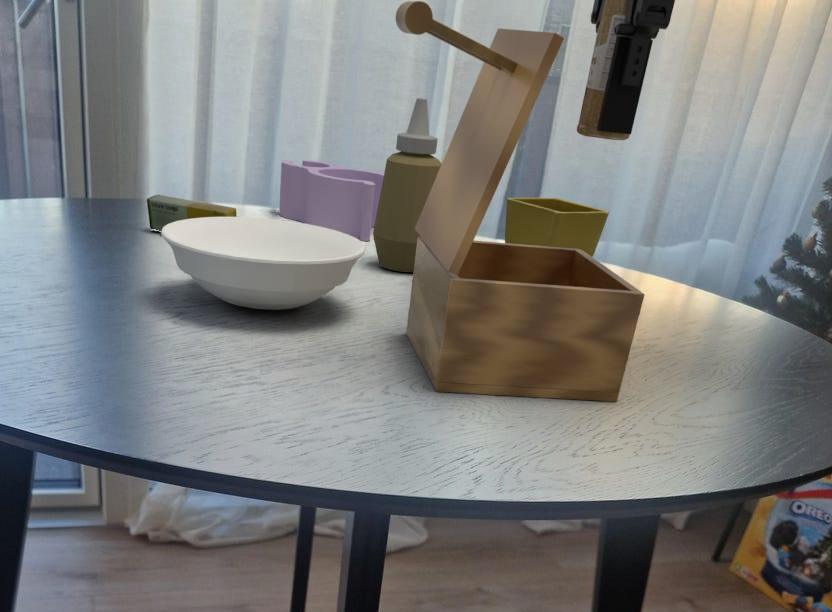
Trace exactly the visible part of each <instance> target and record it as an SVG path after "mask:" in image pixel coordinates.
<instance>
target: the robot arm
mask: <svg viewBox="0 0 832 612" xmlns="http://www.w3.org/2000/svg"><path fill="white" fill-rule="evenodd" d="M675 2H676V0H628V2H627V9H626V15H625V22H624V24H623V23H620V24H618V25H617V26H616V27H614V34H617V35H625V36H628V37H622V36H617V38H616V42H615V47H614V52H613V56H612V61H611V66H610V70H609V75H608V80H607V84H606V89H605V93H604V98H603V103H602V107H601V112H600V117H599V121H598V126H597V130H598V131H603V132H613V133H622V134H630V135H632V132H633V128H634V123H635V119H636V114H637V110H638V105H639V102H640V99H641V93H642V89H643V85H644V81H645V76H646V71H647V67H648V63H649V59H650V55H651V51H652V46H653V41H654V40H655V39H656V38H657V37H658V34H659V32H660V30H667V29H668V27H669V26H670V23H671V20H672V15H673V11H674V6H675ZM604 3H605V0H593V6H592V11H591V13H590V22H591V24H592V25H595V33H596V34H597V32H598V28H599V25H600V21H601V18H602V13H603V8H604ZM596 37H597V35H596V36H595V38H596ZM651 39H652V40H651ZM595 42H596V40H595ZM595 42H594V43H595ZM594 47H595V45H594V46H593V48H594ZM593 52H594V50H593V51H592V53H593ZM591 61H592V59H591ZM591 61H590V62H591ZM590 66H591V64H590V65H589V67H590ZM589 71H590V69H588V72H589ZM586 90H587V88H586V87H585V89H584V94H583V95H584V96H583V98H582V99H583V100H582V105H581V109H580V114H579V119H578V123H579V122H580V117H581V113H582V109H583V104H584V99H585V94H586Z"/></svg>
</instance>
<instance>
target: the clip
mask: <svg viewBox="0 0 832 612" xmlns="http://www.w3.org/2000/svg"><path fill="white" fill-rule="evenodd" d="M383 177H384V173H382V172H378V171H372V170H365V169H359V168H358V169H357V168H350V167H344V166H340V165H337V164H334V163H330V162H325V161H318V160H310V159H302V162H301V165H300V164H296V163H293V161H292V160H287V159H286V160H285V159H284V160H281V162H280V183H279V185H280V186H279V187H280V189H279V208H278V210H279V211H278V215H279V216H280V217H283V218H285V219H289V220H294V221H297V222H301V223H305V224H310V225H315V226H320V227H324V228H328V229H332V230H336V231H339V232H342V233H345V234H348V235H350V236H352V237H354V238H357V239H358V240H360V241H361V242H362V241H363V242H370V241H371V232H372V227H373V228H374V225H375V220H376V214H377V209H378V204H379V198H380V193H381V188H382V183H383Z"/></svg>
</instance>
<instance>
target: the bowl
mask: <svg viewBox="0 0 832 612" xmlns="http://www.w3.org/2000/svg"><path fill="white" fill-rule="evenodd" d="M160 235H161V236H162V238H163V240H164V241H165V242H166V243H167V244H168V245H169V247H170V248H171V250H172V252H173V257H174V260H175V262H176V265H177V267H178V269H179V270H180V271H182V272H183V273H184V274H187V275H188V276H190V278H191V279H192V280H193V281H194V282H196V283H197V284H198V285H199V286H200V287H202V288H203V289H204V290H206V291H207V292H208V293H210V294H211V295H213V296H215V297H216V298H218V299H220V300H222V301H224V302H226V303H229V304H232V305H234V306H239V307H243V308H249V309H256V310H267V311H268V310H269V311H270V310H277V311H279V310H290V309H291V310H292V309H297V308H300V307H303V306H305V305H308V304H311V303H312V302H314V301H317V300H319V299H320V298H322V297H324V296H326V294H328V293H329V292H331V291H333V290H334V289H335V288H336V287H338V286H341V285H343V284H346V282H348V279H349V277H350V274H351V272H352V269H353V267H354V266H355V264H356V263H357V261H358V260H359V259H360V258H362V257H363V256H364V255H365V253H366V251H367V248H366V246H365V244H364V242H362V240H360V239H359V238H354V237H352V236H350V235H348V234H345V233H342V232H339V231H336V230H332V229H328V228H324V227H320V226H315V225H310V224H305V223H304V222H299V221H292V220H283V219H276V218H267V217H252V216H251V217H249V216H237V217H202V218H192V219H185V220H180V221H175V222H172V223H169V224H167V225H166V226H164V227H163V229H162V232H160Z"/></svg>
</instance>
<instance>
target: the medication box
mask: <svg viewBox="0 0 832 612" xmlns="http://www.w3.org/2000/svg"><path fill="white" fill-rule="evenodd" d="M146 204H147V205H146V206H147V213H148V222H149V229H150V228H151V229H156V230H159V231H162V229H163V227H164V226H166V225H167V224H169V223H172V222H175V221H180V220H185V219H192V218H202V217H238V216H237V208H236V207H232V206H226V205H219V204H215V203H208V202H202V201H197V200H191V199H186V198H185V199H184V198H179V197H175V196H174V197H173V196H168V195H162V194H155V195H151V196H150V197H148V198H146Z"/></svg>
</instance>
